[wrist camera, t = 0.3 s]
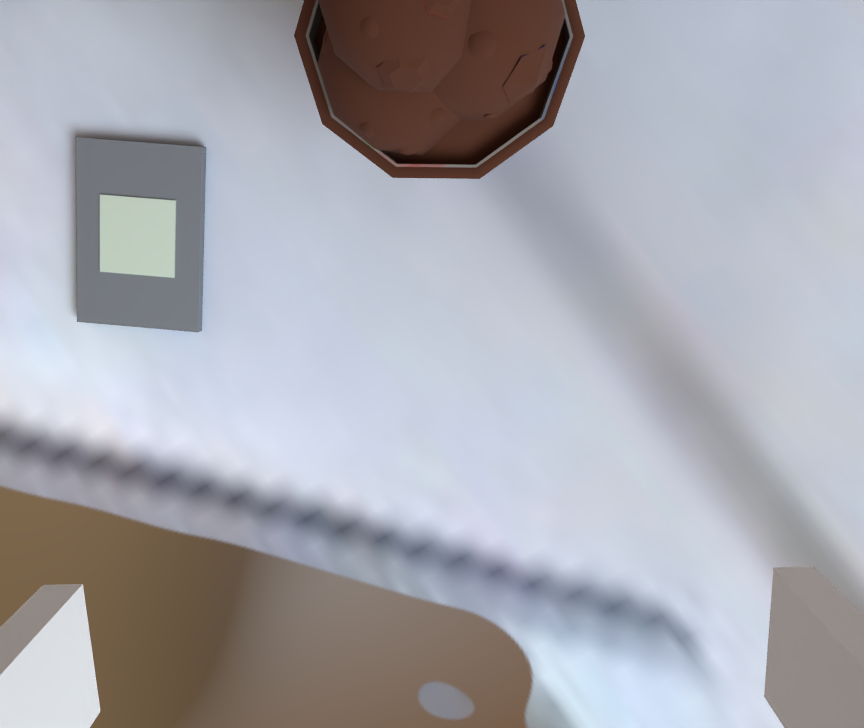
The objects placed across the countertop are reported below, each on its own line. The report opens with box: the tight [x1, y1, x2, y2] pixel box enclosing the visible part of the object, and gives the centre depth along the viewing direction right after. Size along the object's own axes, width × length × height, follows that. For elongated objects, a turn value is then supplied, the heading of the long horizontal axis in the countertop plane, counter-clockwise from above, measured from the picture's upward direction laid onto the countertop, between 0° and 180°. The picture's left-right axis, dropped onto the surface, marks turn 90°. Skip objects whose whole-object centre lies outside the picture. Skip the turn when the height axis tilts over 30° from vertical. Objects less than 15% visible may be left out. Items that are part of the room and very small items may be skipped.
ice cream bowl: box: [294, 0, 585, 179], centre depth 31 cm, size 11×11×15 cm
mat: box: [76, 137, 206, 332], centre depth 41 cm, size 10×7×1 cm
